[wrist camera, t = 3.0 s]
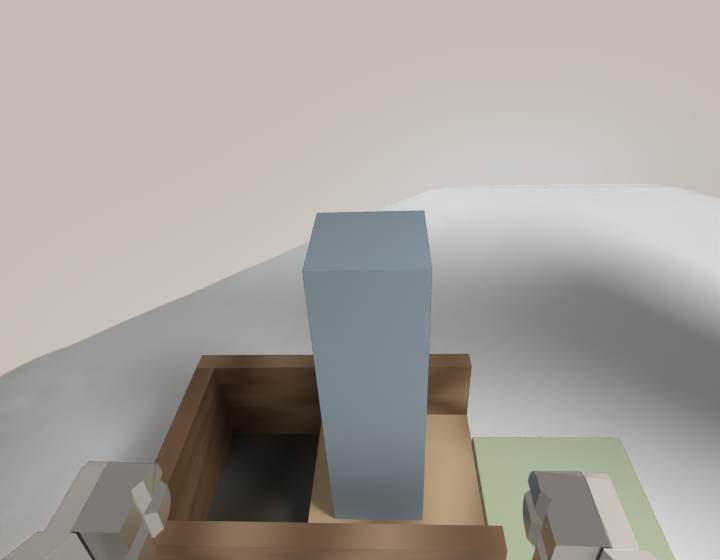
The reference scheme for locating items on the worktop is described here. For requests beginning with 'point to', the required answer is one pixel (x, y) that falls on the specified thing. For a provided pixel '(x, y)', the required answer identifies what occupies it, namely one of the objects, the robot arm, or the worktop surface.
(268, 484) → the brown wooden open box
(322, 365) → the block
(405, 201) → the worktop surface
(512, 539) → the mat
